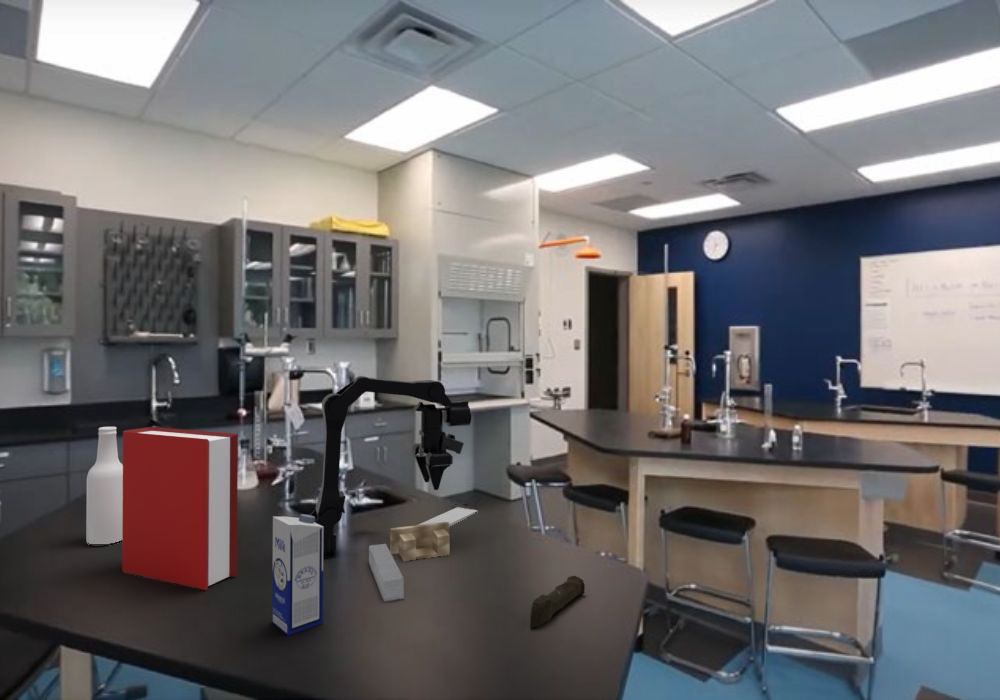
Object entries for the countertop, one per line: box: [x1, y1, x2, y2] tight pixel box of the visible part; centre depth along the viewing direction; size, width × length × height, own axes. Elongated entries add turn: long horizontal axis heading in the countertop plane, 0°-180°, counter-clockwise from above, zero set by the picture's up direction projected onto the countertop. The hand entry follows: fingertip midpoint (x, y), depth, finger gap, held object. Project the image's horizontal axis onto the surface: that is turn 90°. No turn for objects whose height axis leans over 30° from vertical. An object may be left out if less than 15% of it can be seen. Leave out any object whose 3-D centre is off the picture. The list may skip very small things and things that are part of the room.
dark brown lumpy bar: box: [529, 575, 586, 629], centre depth 113 cm, size 19×4×5 cm, turn 144°
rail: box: [368, 543, 405, 603], centre depth 127 cm, size 4×22×4 cm, turn 21°
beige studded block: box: [389, 522, 451, 562], centre depth 143 cm, size 15×8×6 cm, turn 112°
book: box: [121, 426, 239, 591], centre depth 129 cm, size 27×8×32 cm, turn 68°
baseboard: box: [418, 503, 478, 528], centre depth 167 cm, size 30×3×10 cm
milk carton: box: [271, 513, 324, 636], centre depth 106 cm, size 7×7×20 cm
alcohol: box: [85, 426, 123, 545], centre depth 150 cm, size 9×9×30 cm
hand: (431, 485), depth 152 cm, fingers open, 9 cm apart
